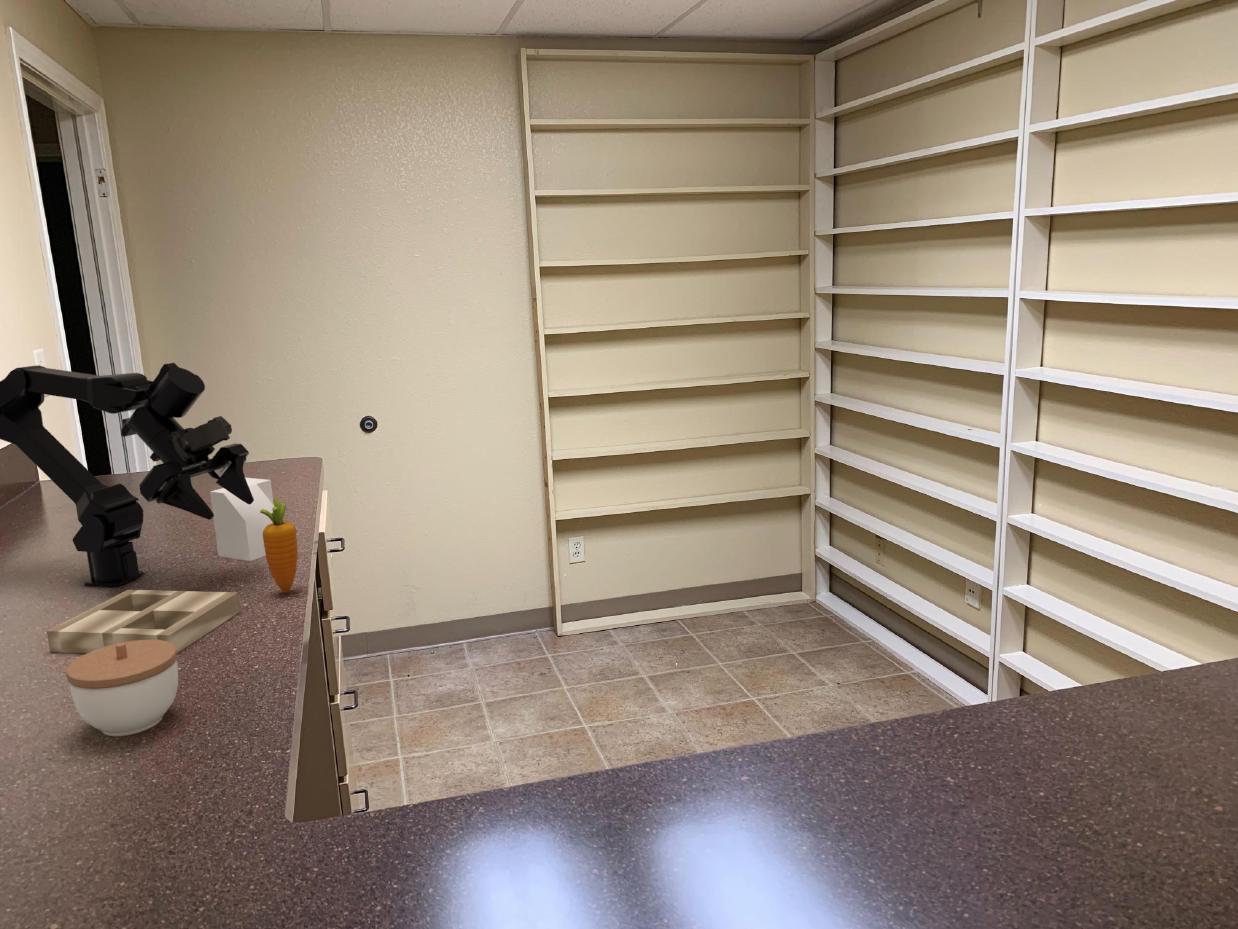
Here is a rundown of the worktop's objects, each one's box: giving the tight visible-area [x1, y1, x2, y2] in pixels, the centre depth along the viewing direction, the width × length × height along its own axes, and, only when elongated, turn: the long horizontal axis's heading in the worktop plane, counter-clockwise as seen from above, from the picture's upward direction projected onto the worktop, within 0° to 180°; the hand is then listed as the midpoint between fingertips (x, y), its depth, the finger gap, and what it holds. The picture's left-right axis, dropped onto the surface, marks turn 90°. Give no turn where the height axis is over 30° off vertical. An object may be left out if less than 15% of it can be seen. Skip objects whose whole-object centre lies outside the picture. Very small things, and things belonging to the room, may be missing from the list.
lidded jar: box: [65, 640, 179, 737], centre depth 99 cm, size 11×11×9 cm
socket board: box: [46, 589, 241, 654], centre depth 126 cm, size 18×16×3 cm
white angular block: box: [209, 477, 275, 562], centre depth 163 cm, size 11×11×12 cm
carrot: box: [260, 498, 298, 595], centre depth 138 cm, size 5×5×15 cm
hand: (232, 509), depth 139 cm, fingers open, 9 cm apart
